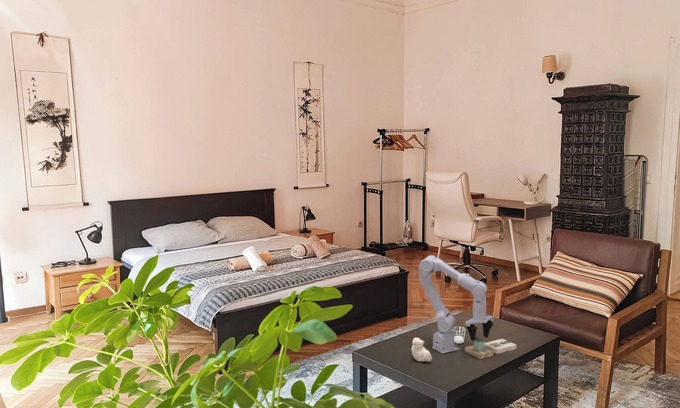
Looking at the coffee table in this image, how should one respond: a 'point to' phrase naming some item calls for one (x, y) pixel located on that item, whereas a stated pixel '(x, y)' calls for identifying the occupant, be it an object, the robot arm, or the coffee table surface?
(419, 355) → the white animal figurine
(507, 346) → the port housing
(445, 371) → the coffee table surface
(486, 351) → the holster
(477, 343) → the plug
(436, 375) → the coffee table surface
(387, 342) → the coffee table surface
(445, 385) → the coffee table surface
